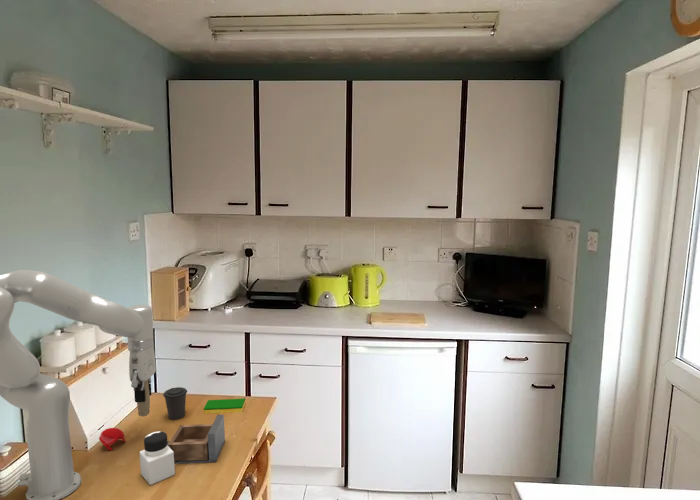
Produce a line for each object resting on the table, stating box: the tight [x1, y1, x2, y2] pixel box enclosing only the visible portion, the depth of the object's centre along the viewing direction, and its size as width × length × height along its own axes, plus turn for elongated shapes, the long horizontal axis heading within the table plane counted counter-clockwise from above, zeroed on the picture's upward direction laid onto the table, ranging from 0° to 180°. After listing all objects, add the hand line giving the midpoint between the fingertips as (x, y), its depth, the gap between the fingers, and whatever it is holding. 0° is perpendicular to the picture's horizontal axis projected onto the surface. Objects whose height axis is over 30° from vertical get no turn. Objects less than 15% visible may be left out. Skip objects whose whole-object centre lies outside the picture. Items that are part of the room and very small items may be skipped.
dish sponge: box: [203, 398, 246, 415], centre depth 169 cm, size 7×14×2 cm, turn 94°
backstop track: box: [167, 414, 226, 465], centre depth 140 cm, size 21×12×9 cm, turn 92°
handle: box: [136, 379, 151, 417], centre depth 147 cm, size 5×6×15 cm
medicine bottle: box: [139, 430, 176, 486], centre depth 129 cm, size 7×7×12 cm
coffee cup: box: [162, 386, 188, 421], centre depth 163 cm, size 8×8×10 cm
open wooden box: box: [168, 423, 213, 461], centre depth 140 cm, size 11×11×5 cm
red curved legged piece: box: [98, 427, 127, 452], centre depth 144 cm, size 8×6×6 cm
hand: (143, 398), depth 148 cm, fingers closed on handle, 4 cm apart
